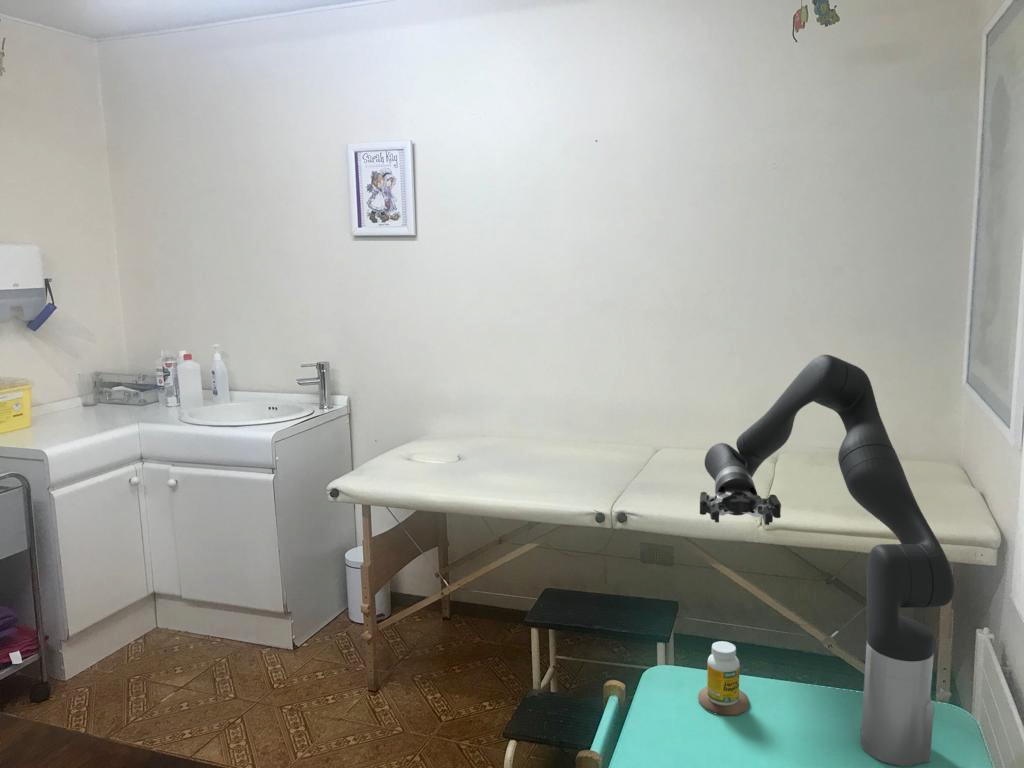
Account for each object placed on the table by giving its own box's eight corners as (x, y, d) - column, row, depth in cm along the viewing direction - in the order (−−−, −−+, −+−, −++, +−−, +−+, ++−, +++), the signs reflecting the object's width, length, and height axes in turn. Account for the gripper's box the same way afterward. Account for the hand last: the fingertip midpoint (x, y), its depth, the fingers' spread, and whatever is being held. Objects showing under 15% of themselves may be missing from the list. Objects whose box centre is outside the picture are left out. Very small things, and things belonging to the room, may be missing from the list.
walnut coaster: (746, 690, 143) (746, 686, 143) (751, 718, 135) (751, 714, 135) (697, 686, 145) (697, 682, 145) (699, 713, 137) (699, 710, 137)
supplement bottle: (721, 686, 144) (723, 635, 142) (745, 700, 139) (747, 648, 137) (700, 696, 141) (701, 644, 139) (723, 710, 136) (725, 658, 135)
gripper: (698, 470, 159) (701, 496, 143) (774, 472, 156) (785, 499, 141) (697, 506, 160) (700, 536, 145) (772, 509, 158) (783, 540, 142)
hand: (742, 518), depth 143 cm, fingers open, 8 cm apart
